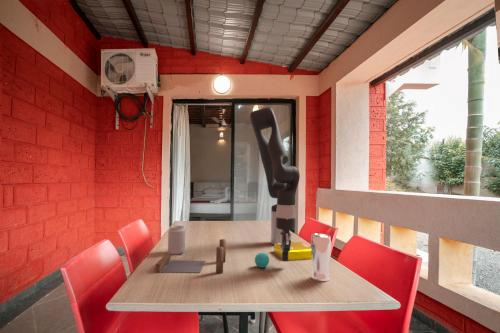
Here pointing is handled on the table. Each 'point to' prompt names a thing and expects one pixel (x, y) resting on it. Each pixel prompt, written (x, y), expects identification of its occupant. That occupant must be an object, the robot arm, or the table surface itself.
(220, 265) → the post
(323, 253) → the silver metal tumbler
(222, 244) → the post
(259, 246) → the table surface
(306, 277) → the table surface
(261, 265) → the ball
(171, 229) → the can
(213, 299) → the table surface
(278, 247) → the element tile
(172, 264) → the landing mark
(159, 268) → the strip
